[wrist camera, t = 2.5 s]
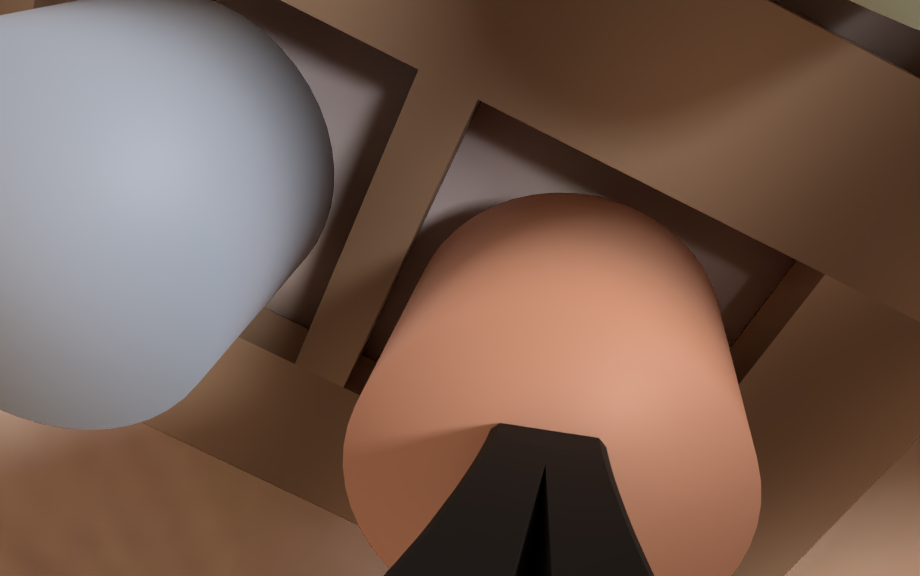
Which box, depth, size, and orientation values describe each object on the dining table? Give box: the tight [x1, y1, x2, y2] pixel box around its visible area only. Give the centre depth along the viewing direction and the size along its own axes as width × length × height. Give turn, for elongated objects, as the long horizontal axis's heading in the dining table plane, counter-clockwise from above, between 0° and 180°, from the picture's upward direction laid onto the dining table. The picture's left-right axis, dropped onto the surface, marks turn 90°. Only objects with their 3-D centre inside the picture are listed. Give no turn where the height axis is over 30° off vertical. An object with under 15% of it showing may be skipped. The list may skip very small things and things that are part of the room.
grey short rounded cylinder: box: [0, 0, 334, 430], centre depth 11 cm, size 5×5×4 cm
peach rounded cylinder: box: [343, 193, 761, 576], centre depth 12 cm, size 5×5×4 cm
